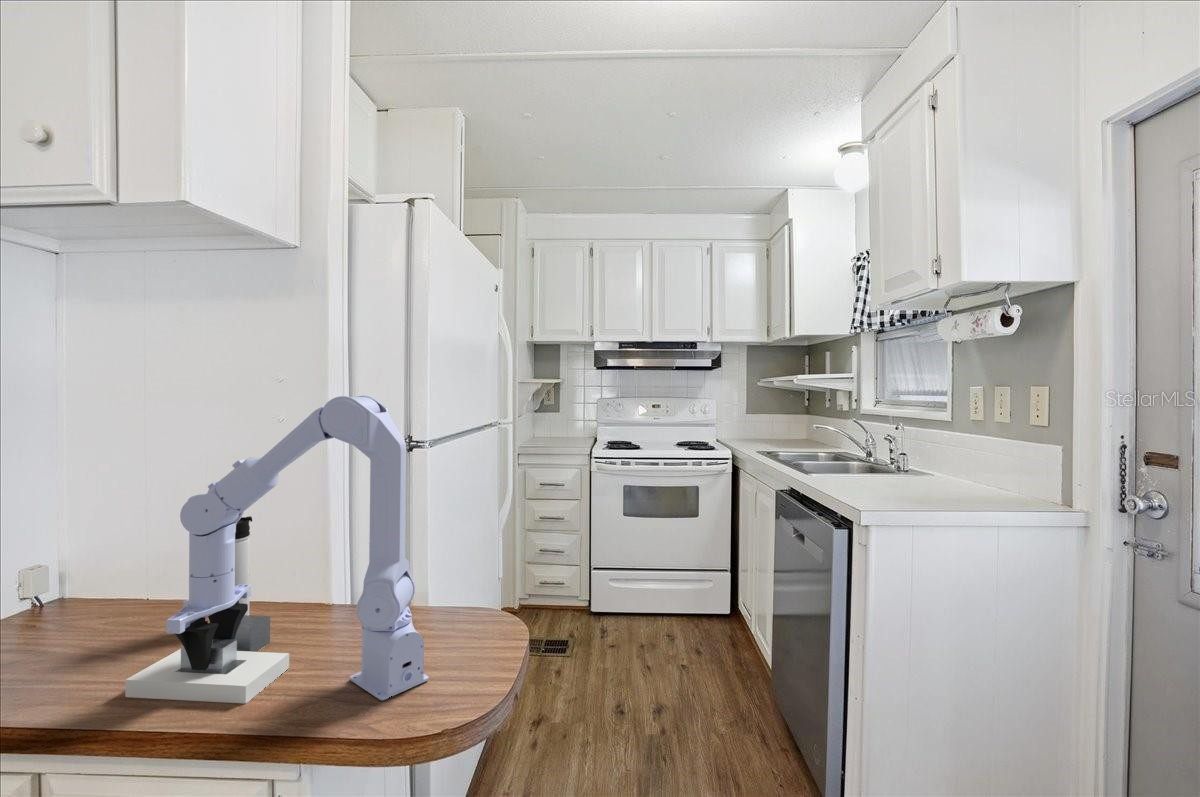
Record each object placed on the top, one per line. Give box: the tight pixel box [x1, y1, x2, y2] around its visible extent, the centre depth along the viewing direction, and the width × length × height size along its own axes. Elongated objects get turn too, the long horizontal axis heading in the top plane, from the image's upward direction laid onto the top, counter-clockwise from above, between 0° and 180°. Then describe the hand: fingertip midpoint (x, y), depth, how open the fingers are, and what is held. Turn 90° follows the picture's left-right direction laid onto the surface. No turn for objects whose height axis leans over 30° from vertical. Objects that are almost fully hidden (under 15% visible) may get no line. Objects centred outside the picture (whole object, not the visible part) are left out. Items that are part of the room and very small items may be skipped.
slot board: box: [124, 648, 290, 704], centre depth 85 cm, size 18×10×2 cm, turn 86°
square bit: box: [234, 614, 271, 652], centre depth 96 cm, size 5×5×5 cm
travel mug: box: [208, 515, 253, 623], centre depth 106 cm, size 6×7×20 cm
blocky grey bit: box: [180, 639, 237, 674], centre depth 85 cm, size 6×3×6 cm, turn 87°
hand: (211, 661), depth 85 cm, fingers open, 4 cm apart
